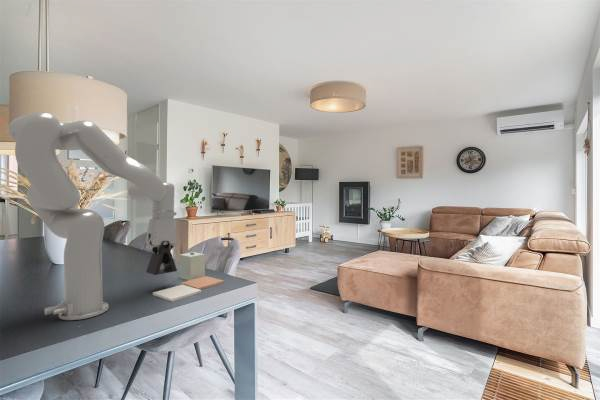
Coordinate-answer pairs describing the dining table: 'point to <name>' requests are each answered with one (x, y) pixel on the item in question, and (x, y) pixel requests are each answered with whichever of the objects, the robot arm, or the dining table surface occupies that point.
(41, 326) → the dining table surface
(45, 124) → the robot arm
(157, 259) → the black a-frame stand
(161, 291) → the pad cream
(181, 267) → the block
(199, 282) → the pad terracotta
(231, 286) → the dining table surface
